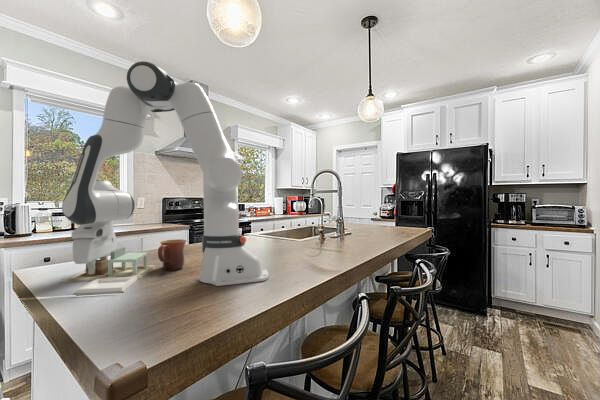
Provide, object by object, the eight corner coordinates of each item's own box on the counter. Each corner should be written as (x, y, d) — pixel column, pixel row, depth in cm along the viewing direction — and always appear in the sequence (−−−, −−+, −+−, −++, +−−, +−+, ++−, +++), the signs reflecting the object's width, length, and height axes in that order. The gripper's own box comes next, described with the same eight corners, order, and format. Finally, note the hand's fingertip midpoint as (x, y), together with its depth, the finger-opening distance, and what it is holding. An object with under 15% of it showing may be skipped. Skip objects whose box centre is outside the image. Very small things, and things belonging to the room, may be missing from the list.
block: (108, 272, 95) (108, 259, 95) (101, 276, 90) (101, 262, 90) (93, 273, 94) (93, 259, 94) (85, 276, 90) (85, 262, 90)
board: (154, 269, 102) (154, 265, 102) (140, 280, 88) (140, 275, 88) (86, 272, 98) (86, 268, 98) (61, 283, 84) (61, 279, 84)
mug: (170, 265, 108) (170, 239, 108) (191, 266, 106) (191, 239, 106) (148, 273, 96) (148, 243, 96) (170, 274, 95) (170, 244, 95)
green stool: (147, 268, 100) (147, 246, 100) (135, 276, 90) (136, 251, 90) (123, 269, 99) (123, 246, 99) (108, 278, 88) (108, 252, 88)
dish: (137, 281, 87) (137, 276, 87) (122, 293, 76) (122, 287, 76) (97, 283, 85) (97, 278, 85) (76, 295, 74) (76, 289, 74)
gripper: (102, 226, 102) (102, 264, 102) (67, 233, 82) (67, 280, 82) (121, 226, 103) (121, 263, 103) (91, 233, 83) (91, 279, 83)
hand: (97, 271), depth 92 cm, fingers closed on block, 4 cm apart
